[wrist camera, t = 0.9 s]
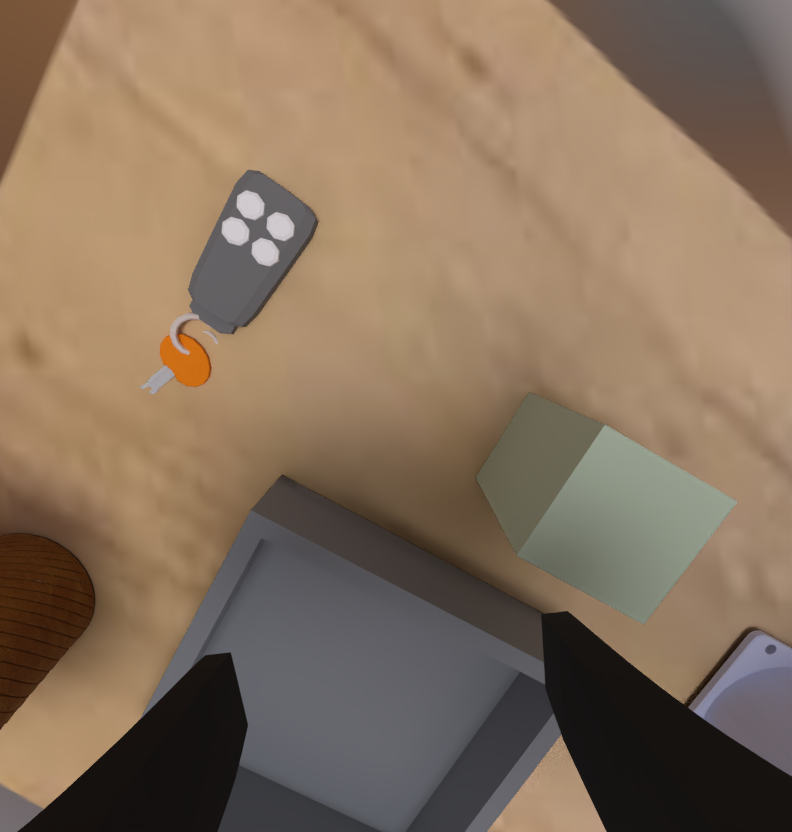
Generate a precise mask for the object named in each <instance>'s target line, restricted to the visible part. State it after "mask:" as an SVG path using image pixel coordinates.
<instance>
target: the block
mask: <svg viewBox="0 0 792 832" xmlns="http://www.w3.org/2000/svg"><path fill="white" fill-rule="evenodd" d="M476 479H477V481H478V483H479V485H480V487H481V489H482V491H483V492H484V494H485V496H486V498H487V500H488V502H489V504H490V506H491V508H492V510H493V512H494V514H495V515H496V517H497V519H498V521H499V523H500V525H501V527H502V529H503V531H504V533H505V535H506V536H507V538H508V540H509V542H510V544H511V546H512V548H513V550H514V552H515V554H516V556H518V557H520V558H522V559H523V560H525V561H527V562H529V563H531V564H533V565H534V566H536V567H538V568H540V569H542V570H544V571H546V572H547V573H549V574H551V575H553V576H555V577H557V578H559V579H560V580H562V581H564V582H566V583H568V584H570V585H572V586H573V587H575V588H577V589H579V590H581V591H583V592H584V593H586V594H588V595H590V596H592V597H594V598H596V599H597V600H599V601H601V602H603V603H605V604H607V605H609V606H610V607H612V608H614V609H616V610H618V611H620V612H622V613H623V614H625V615H627V616H629V617H631V618H633V619H635V620H636V621H638V622H640V623H642V624H645V622H646V621H647V620H648V618H649V617H650V616H651V614H652V613H653V612H654V611H655V609H656V608H657V607H658V605H659V604H660V603H661V601H662V600H663V599H664V597H665V596H666V595H667V594H668V592H669V591H670V590H671V588H672V587H673V586H674V584H675V583H676V582H677V580H678V579H679V578H680V576H681V575H682V574H683V573H684V571H685V570H686V569H687V567H688V566H689V565H690V563H691V562H692V561H693V559H694V558H695V557H696V556H697V554H698V553H699V552H700V550H701V549H702V548H703V546H704V545H705V544H706V542H707V541H708V540H709V538H710V537H711V536H712V535H713V533H714V532H715V531H716V529H717V528H718V527H719V525H720V524H721V523H722V521H723V520H724V519H725V518H726V516H727V515H728V514H729V512H730V511H731V510H732V508H733V507H734V506H735V504H736V503H737V502H738V501H736V500H734V499H732V498H731V497H729V496H727V495H726V494H724V493H722V492H720V491H719V490H717V489H715V488H713V487H712V486H710V485H708V484H707V483H705V482H703V481H701V480H700V479H698V478H696V477H695V476H693V475H691V474H689V473H688V472H686V471H684V470H682V469H681V468H679V467H677V466H676V465H674V464H672V463H670V462H669V461H667V460H665V459H663V458H662V457H660V456H658V455H657V454H655V453H653V452H651V451H650V450H648V449H646V448H644V447H643V446H641V445H639V444H638V443H636V442H634V441H632V440H631V439H629V438H627V437H625V436H624V435H622V434H620V433H619V432H617V431H615V430H613V429H612V428H610V427H608V426H607V425H605V424H602V423H600V422H598V421H595V420H593V419H591V418H588V417H586V416H584V415H582V414H579V413H577V412H575V411H572V410H570V409H568V408H565V407H563V406H561V405H558V404H556V403H554V402H551V401H549V400H547V399H544V398H542V397H540V396H537V395H535V394H533V393H531V392H529V393H528V395H527V396H526V398H525V400H524V401H523V403H522V404H521V406H520V408H519V409H518V411H517V412H516V414H515V416H514V417H513V419H512V420H511V422H510V424H509V425H508V427H507V428H506V430H505V431H504V433H503V435H502V436H501V438H500V439H499V441H498V443H497V444H496V446H495V447H494V449H493V451H492V452H491V454H490V455H489V457H488V459H487V460H486V462H485V463H484V465H483V467H482V468H481V470H480V471H479V473H478V474H477V476H476Z"/></svg>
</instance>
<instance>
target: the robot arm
mask: <svg viewBox="0 0 792 832" xmlns="http://www.w3.org/2000/svg"><path fill="white" fill-rule="evenodd" d="M541 621H542V638H543V656H544V673H545V689H546V692H547V695H548V698H549V701H550V704H551V707H552V710H553V712H554V715H555V718H556V721H557V724H558V726H559V729H560V732H561V734H562V737H563V740H564V742H565V744H566V746H567V749H568V751H569V753H570V755H571V757H572V759H573V761H574V764H575V766H576V768H577V770H578V772H579V774H580V776H581V779H582V781H583V783H584V785H585V787H586V789H587V791H588V793H589V796H590V798H591V800H592V802H593V804H594V806H595V808H596V810H597V812H598V815H599V817H600V819H601V821H602V823H603V825H604V827H605V829H606V831H607V832H792V647H790V646H788V645H786V644H784V643H782V642H781V641H779V640H777V639H775V638H773V637H772V636H770V635H768V634H766V633H764V632H762V631H759V630H757V631H752V632H750V633H749V634H748V635H747V636H746V637H745V639H744V640H743V641H742V642H741V643H740V645H739V646H738V647H737V648H736V650H735V651H734V652H733V653H732V654H731V656H730V657H729V658H728V659H727V661H726V662H725V663H724V664H723V665H722V667H721V668H720V669H719V670H718V671H717V673H716V674H715V675H714V676H713V678H712V679H711V680H710V681H709V682H708V684H707V685H706V686H705V687H704V689H703V690H702V691H701V692H700V693H699V695H698V696H697V697H696V698H695V700H694V701H693V702H692V703H691V704H690V706H689V707H686V706H685V705H684V704H682V703H681V702H679V701H678V700H677V699H675V698H674V697H672V696H671V695H670V694H668V693H667V692H666V691H665V690H663V689H662V688H661V687H659V686H658V685H657V684H655V683H654V682H653V681H652V680H650V679H649V678H648V677H647V676H645V675H644V674H643V673H642V672H640V671H639V670H638V669H636V668H635V667H634V666H633V665H631V664H630V663H629V662H628V661H626V660H625V659H624V658H623V657H622V656H620V655H619V654H618V653H617V652H616V651H614V650H613V649H612V648H611V647H610V646H608V645H607V644H606V643H605V642H604V641H602V640H601V639H600V638H599V637H598V636H596V635H595V634H594V633H593V632H592V631H591V630H589V629H588V628H587V627H586V626H585V625H584V624H582V623H581V622H580V621H579V620H578V619H576V618H575V617H574V616H573V615H572V614H570V613H569V612H568V611H565V612H557V613H549V614H541ZM247 728H248V722H247V718H246V714H245V710H244V705H243V701H242V697H241V693H240V688H239V684H238V680H237V676H236V672H235V667H234V663H233V659H232V655H231V652H228V653H220V654H211V655H205V656H204V657H203V658H201V659H200V660H199V661H198V662H197V663H196V664H195V665H194V666H193V667H192V668H191V669H190V670H189V671H188V672H187V673H186V674H185V675H184V676H183V677H182V678H181V679H180V680H179V681H178V682H177V683H176V684H175V685H174V686H173V687H172V688H171V689H170V690H169V691H168V692H167V693H166V694H165V695H164V696H163V697H162V698H161V699H160V700H159V701H158V702H157V703H156V704H155V705H154V706H153V707H152V708H151V709H150V710H149V711H148V712H147V713H146V714H145V715H144V716H143V717H142V718H141V719H140V720H139V721H138V722H137V723H136V724H135V725H134V726H133V727H132V728H131V729H130V730H129V731H128V732H127V733H126V734H125V735H124V736H123V737H122V738H121V739H120V740H119V741H118V742H117V743H116V744H114V745H113V746H112V747H111V748H110V749H109V750H108V751H107V752H106V753H105V754H104V755H103V756H102V757H101V758H99V759H98V760H97V761H96V762H95V763H94V764H93V765H92V766H91V767H90V768H89V769H88V770H87V771H86V772H84V773H83V774H82V775H81V776H80V777H79V778H78V779H77V780H76V781H75V782H74V783H73V784H72V785H71V786H69V787H68V788H67V789H66V790H65V791H64V792H63V793H62V794H61V795H60V796H58V797H57V798H56V799H55V800H54V801H53V802H52V803H51V804H49V805H48V806H47V807H46V808H45V809H44V810H43V811H41V812H40V813H39V814H38V815H37V816H36V817H35V818H34V819H32V820H31V821H30V822H29V823H28V824H26V825H25V826H24V827H23V828H21V829H20V830H19V831H18V832H218V829H219V826H220V823H221V820H222V817H223V815H224V812H225V809H226V806H227V803H228V800H229V797H230V794H231V791H232V788H233V785H234V782H235V779H236V775H237V771H238V767H239V763H240V759H241V755H242V751H243V746H244V742H245V737H246V733H247Z"/></svg>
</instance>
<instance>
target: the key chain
mask: <svg viewBox="0 0 792 832" xmlns="http://www.w3.org/2000/svg"><path fill="white" fill-rule="evenodd" d="M317 224H318V221H317V219H316V217H315V215H314V213H313V211H312V210H311V209H310V208H309V207H308V206H307V205H305V204H304V203H303V202H302V201H300V200H299V199H298V198H296V197H295V196H294V195H293V194H291V193H290V192H289V191H287V190H286V189H285V188H283V187H282V186H280V185H279V184H277V183H276V182H274V181H273V180H271V179H270V178H268V177H267V176H265V175H264V174H263V173H261V172H260V171H253V170H247V171H246V173H245V174H244V175H243V176H242V177H241V178H240V179H239V180H238V181H237V183H236V184H235V186H234V189H233V191H232V193H231V195H230V197H229V199H228V201H227V203H226V205H225V207H224V209H223V211H222V213H221V215H220V217H219V219H218V221H217V223H216V225H215V227H214V229H213V232H212V234H211V236H210V238H209V240H208V242H207V244H206V246H205V248H204V251H203V253H202V255H201V257H200V259H199V261H198V263H197V265H196V267H195V269H194V272H193V274H192V278H191V281H190V285H189V289H188V291H189V293H190V295H191V297H192V299H193V300H192V302H191V304H190V308H191V310H192V312H193V313H186V314H184V315H182V316H180V317H177V319H176V320H175V321H174V322H173V324H172V325H171V330H170V335H169V336H167V337H165V339H164V340H163V341H162V343H161V346H160V356H161V358H162V361H163V363H164V364H165V366H164V367H163V368H162V369H160V370H159V371H158V372H157V373H155V374H154V375H153V376H152V377H150V378H149V381H148V382H146V383H145V384H144V385H143V386H140V387H141V388H142V390H143V389H144V388H145V387H147V386H149V387H150V388H152V389H153V390H151V391H150V392H149V393H152V394H155V393H156V392H157V391H159V390H158V389H159V388H160V387H162V386H163V385H164V384H165V383H167V382H168V381H169V380H171V379H172V378H173V377H174V376H175V377H176V378H177V380H178V381H179V382H181V383H183V384H184V385H186V386H194V387H196V386H199V385H201V384H204V383H205V382H206V381H207V380H208V378H209V377H210V372H211V365H210V360H209V357H208V355H207V353H206V352H205V350H204V348H203V347H202V346H201V345H200V344H199V343H198V342H197V341H196V340H195V339H193V338H191V337H189V336H187V335H185V334H177V332H178V328H179V327H180V325H181V324H182V323H183V322H185V321H188V320H199V321H202V322H204V323H205V324H206V325H208V326H209V327H211V328H213V329H215V330H216V331H218V332H219V333H226V334H234V332H235V331H236V329H237V327H238V326H243V327H246V326H247V325H248V324H249V323H250V322H251V321H252V320H253V319H254V318H255V317H256V316H257V315H258V314H259V312H260V311H261V310H262V308H263V307H264V305H265V304H266V303H267V301H268V300H269V298H270V297H271V296H272V294H273V293H274V291H275V290H276V289H277V287H278V286H279V284H280V283H281V282H282V280H283V279H284V277H285V276H286V275H287V273H288V272H289V270H290V269H291V267H292V266H293V265H294V263H295V262H296V260H297V259H298V257H299V256H300V255H301V253H302V252H303V250H304V249H305V247H306V246H307V245H308V243H309V242H310V240H311V239H312V237H313V234H314V232H315V229H316V227H317ZM203 332H204V333H205V334H208V335H210V336H211V337H212V338H213V339H214V341H215V343H216V344H218V340H217V338H216V337H215V335H214V334H213V333H211V332H210V331H203Z"/></svg>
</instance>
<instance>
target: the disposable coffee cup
mask: <svg viewBox="0 0 792 832" xmlns="http://www.w3.org/2000/svg"><path fill="white" fill-rule="evenodd" d="M93 609H94V594H93V588H92V585H91V581H90V579H89V577H88V575H87V573H86V571H85V570H84V568H83V567H82V566H81V564H80V563H79V562H78V560H77V559H76V558H74V557H73V556H72V555H71V554H70V553H69V552H68V551H67V550H65V549H64V548H62V547H61V546H59V545H58V544H56V543H54V542H52V541H50V540H47V539H45V538H42V537H38V536H34V535H30V534H8V535H4V536H0V729H1V728H2V727H3V726H4V724H6V723H7V722H8V721H9V719H10V718H11V717H12V715H13V714H14V713H15V712H16V710H17V709H18V708H19V707H21V705H22V704H23V703H24V701H25V700H26V699H27V698H28V696H29V695H30V694H31V693H32V692H33V691H34V690H35V688H36V687H37V686H38V684H39V683H40V682H41V681H42V680H43V679H44V678H45V677H46V675H47V674H48V673H49V671H50V670H51V669H53V667H54V666H55V665H56V664H57V662H58V661H59V660H60V658H62V657H63V655H64V654H65V653H66V652H67V651H68V649H69V648H70V647H71V646H72V645H73V644H74V642H75V641H76V640H77V639H78V638H79V637H80V636H81V635H82V634H83V632H84V631H85V629H86V628H87V626H88V625H89V623H90V621H91V618H92V616H93Z"/></svg>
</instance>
